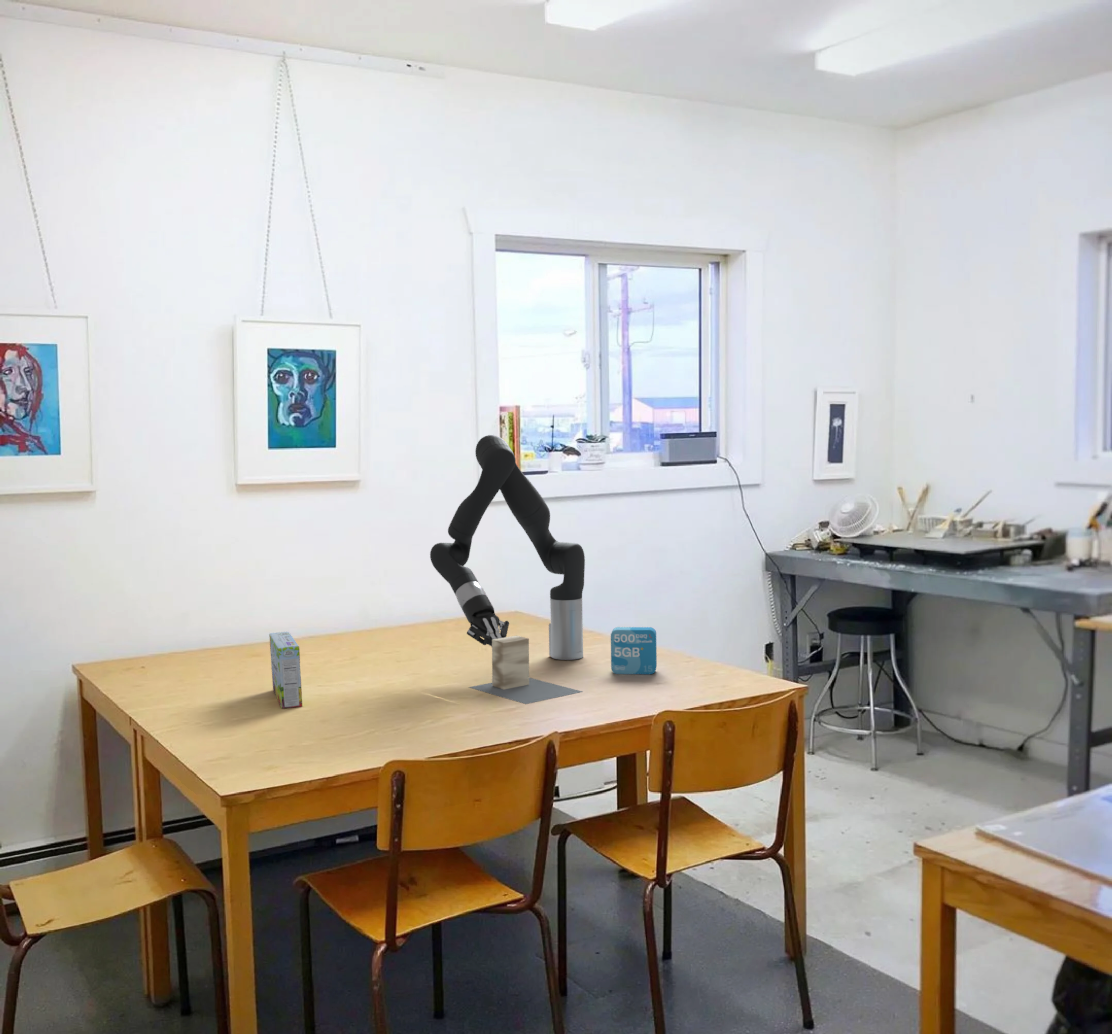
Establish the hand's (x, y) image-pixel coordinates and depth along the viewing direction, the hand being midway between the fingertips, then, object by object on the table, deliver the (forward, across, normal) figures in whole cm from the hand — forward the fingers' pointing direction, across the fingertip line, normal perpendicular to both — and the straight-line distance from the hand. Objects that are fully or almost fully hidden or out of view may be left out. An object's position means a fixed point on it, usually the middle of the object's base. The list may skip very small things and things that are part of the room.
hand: (502, 654), depth 280 cm
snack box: (-12, -48, +24) cm, 55 cm away
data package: (+15, +34, -3) cm, 37 cm away
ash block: (+8, 0, +3) cm, 8 cm away
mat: (+12, 0, -1) cm, 12 cm away
